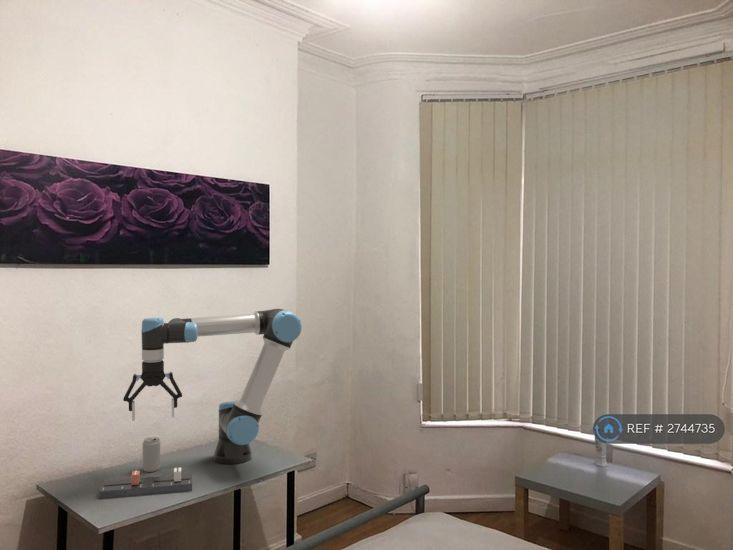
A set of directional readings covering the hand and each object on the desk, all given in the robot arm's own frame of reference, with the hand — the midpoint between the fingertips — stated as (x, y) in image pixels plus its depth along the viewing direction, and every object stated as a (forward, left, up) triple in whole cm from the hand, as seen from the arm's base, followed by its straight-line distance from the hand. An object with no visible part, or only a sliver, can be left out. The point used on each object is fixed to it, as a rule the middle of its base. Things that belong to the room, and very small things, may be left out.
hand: (153, 418), depth 220 cm
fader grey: (-9, +10, -20) cm, 24 cm away
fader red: (+5, +10, -20) cm, 23 cm away
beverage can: (+1, -10, -23) cm, 25 cm away
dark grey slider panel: (+1, +10, -23) cm, 25 cm away
